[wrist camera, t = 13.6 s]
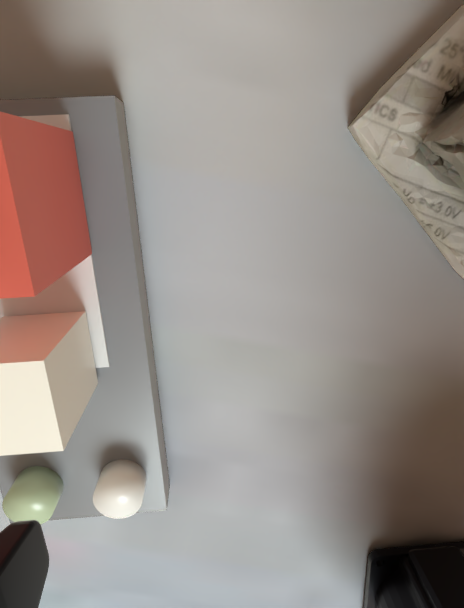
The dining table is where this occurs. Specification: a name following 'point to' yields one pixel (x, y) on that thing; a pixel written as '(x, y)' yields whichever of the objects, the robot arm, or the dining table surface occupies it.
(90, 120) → the breaker panel
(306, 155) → the dining table surface
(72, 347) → the block
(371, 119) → the packaged product
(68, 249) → the block
